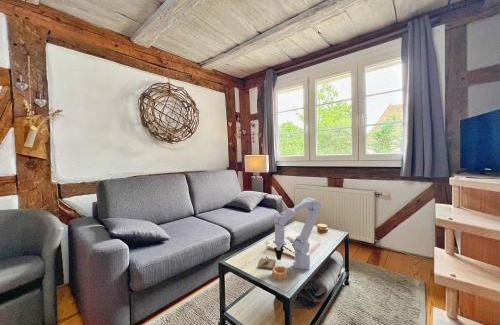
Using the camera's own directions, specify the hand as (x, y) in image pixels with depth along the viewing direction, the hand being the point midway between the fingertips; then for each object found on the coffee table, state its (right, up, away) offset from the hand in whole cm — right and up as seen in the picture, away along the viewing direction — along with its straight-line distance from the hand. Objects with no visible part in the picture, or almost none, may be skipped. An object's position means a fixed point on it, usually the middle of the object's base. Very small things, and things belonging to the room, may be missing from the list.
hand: (279, 256), depth 128 cm
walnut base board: (-7, -9, +9) cm, 14 cm away
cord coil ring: (0, -10, -3) cm, 10 cm away
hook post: (-7, -8, +9) cm, 14 cm away
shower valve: (+15, -8, +33) cm, 37 cm away
